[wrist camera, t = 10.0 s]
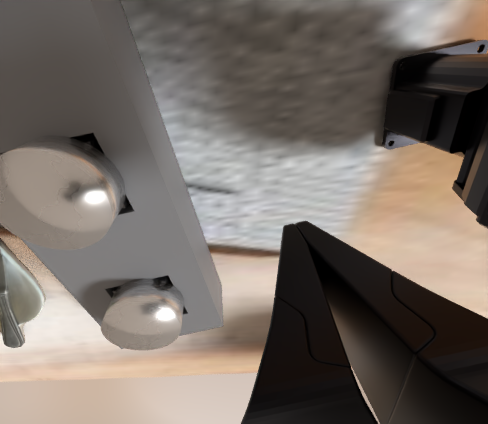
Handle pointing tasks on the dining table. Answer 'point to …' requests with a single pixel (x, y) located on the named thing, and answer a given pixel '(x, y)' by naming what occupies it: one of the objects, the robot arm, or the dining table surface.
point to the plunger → (144, 314)
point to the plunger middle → (60, 192)
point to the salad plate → (17, 297)
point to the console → (105, 150)
